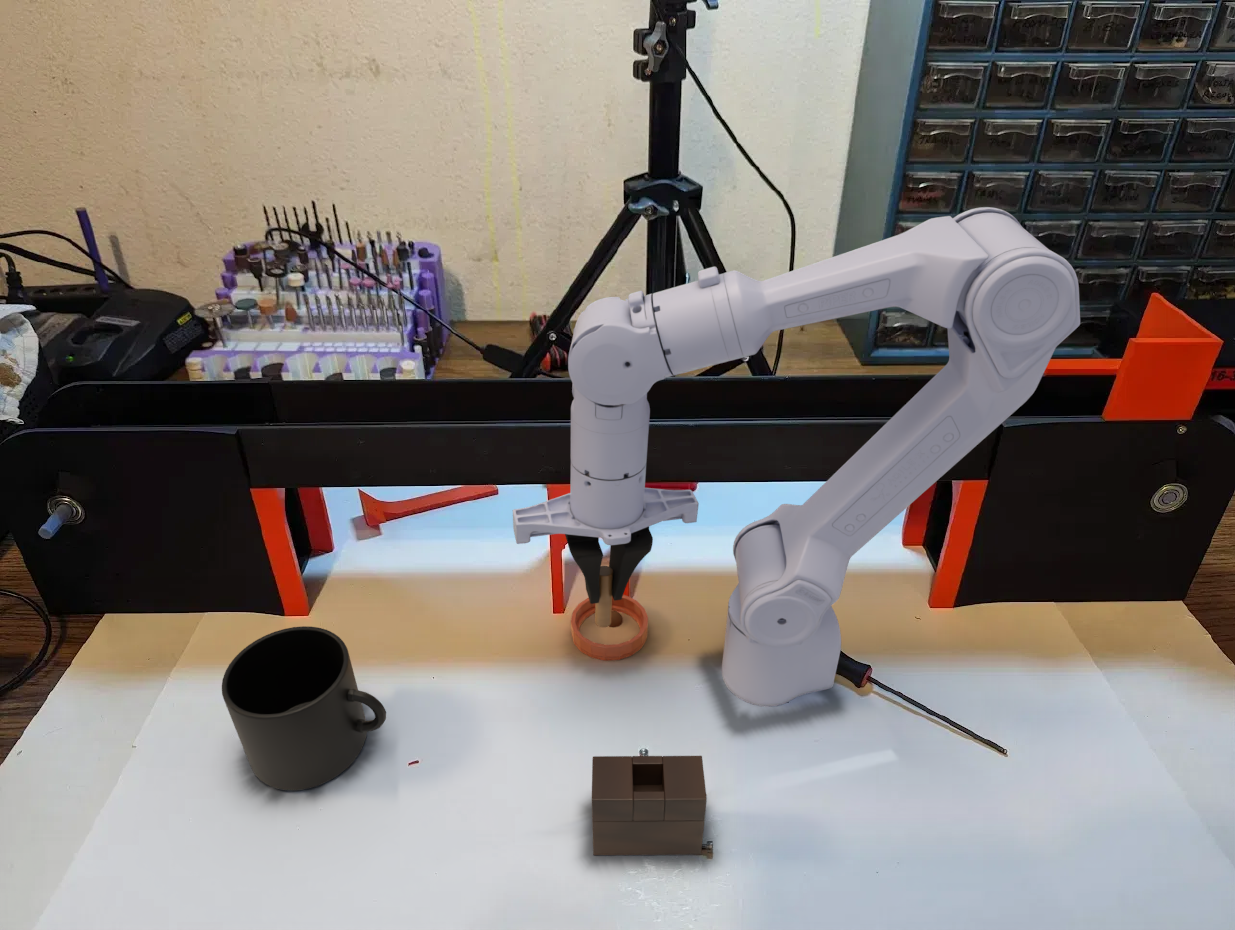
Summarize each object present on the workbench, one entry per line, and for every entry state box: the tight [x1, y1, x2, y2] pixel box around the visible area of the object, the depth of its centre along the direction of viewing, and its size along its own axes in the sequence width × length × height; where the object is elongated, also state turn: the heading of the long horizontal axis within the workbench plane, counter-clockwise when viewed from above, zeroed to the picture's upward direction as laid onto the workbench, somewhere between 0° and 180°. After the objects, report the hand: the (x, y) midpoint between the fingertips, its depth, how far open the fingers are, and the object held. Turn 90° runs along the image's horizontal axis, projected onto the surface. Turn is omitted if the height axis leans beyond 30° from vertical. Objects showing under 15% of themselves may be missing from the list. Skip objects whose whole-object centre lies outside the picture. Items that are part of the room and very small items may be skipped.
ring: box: [570, 594, 649, 662], centre depth 77 cm, size 7×7×3 cm
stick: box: [594, 565, 613, 628], centre depth 68 cm, size 1×1×6 cm
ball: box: [608, 610, 624, 628], centre depth 78 cm, size 2×2×2 cm
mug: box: [221, 625, 387, 791], centre depth 65 cm, size 9×12×9 cm
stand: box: [591, 755, 708, 856], centre depth 59 cm, size 8×4×7 cm, turn 90°
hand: (603, 593), depth 68 cm, fingers closed on stick, 1 cm apart
